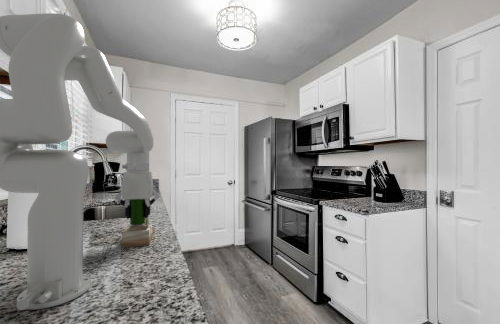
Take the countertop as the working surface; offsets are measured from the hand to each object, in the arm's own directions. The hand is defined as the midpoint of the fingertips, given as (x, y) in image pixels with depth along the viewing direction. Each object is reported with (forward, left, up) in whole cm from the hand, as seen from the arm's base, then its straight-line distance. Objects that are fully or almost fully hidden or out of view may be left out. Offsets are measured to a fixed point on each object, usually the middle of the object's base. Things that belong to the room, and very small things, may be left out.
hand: (138, 217), depth 88 cm
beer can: (0, 0, -3) cm, 3 cm away
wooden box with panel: (+3, 0, -9) cm, 10 cm away
